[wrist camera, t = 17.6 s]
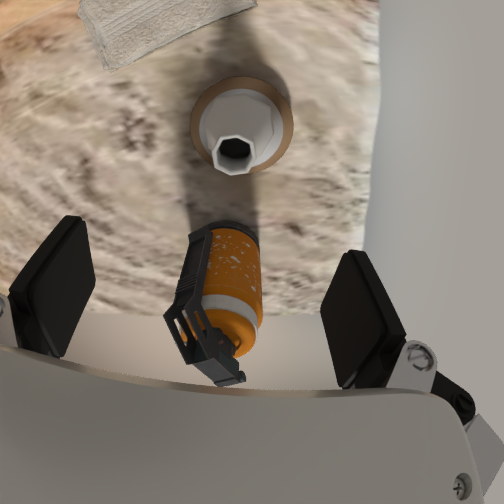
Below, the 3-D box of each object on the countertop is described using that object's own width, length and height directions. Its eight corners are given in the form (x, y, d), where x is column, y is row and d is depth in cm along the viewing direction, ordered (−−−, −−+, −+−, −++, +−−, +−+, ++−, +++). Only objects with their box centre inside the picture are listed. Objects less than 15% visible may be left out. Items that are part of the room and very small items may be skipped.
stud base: (174, 132, 31) (166, 139, 29) (234, 57, 27) (233, 56, 24) (248, 185, 36) (248, 197, 33) (311, 119, 31) (317, 125, 28)
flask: (267, 165, 31) (274, 208, 22) (198, 154, 30) (178, 194, 22) (281, 99, 26) (296, 115, 18) (208, 87, 26) (188, 98, 17)
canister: (215, 280, 44) (202, 403, 28) (173, 224, 39) (128, 347, 22) (270, 258, 42) (281, 386, 26) (231, 194, 36) (218, 318, 20)
